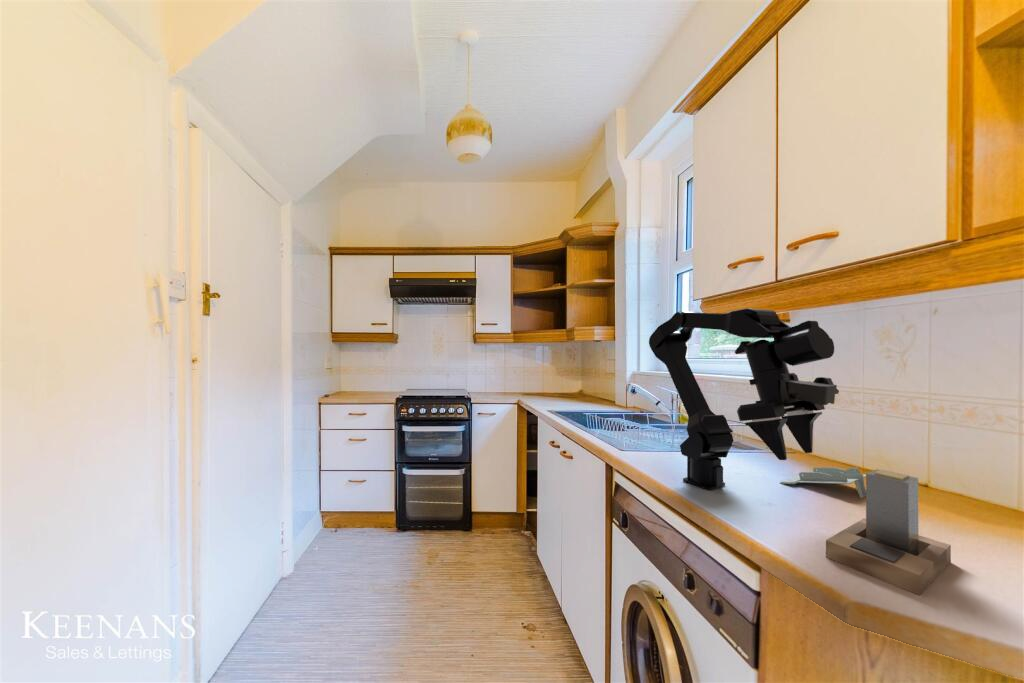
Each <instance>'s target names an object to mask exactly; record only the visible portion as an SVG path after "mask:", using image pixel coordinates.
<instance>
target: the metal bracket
mask: <svg viewBox="0 0 1024 683" xmlns="http://www.w3.org/2000/svg"><path fill="white" fill-rule="evenodd" d="M864 478H866V473H865V474H864V473H863V474H862V473H860V469H859V468H858V467H856V466H853V467H851V468H850V467H849V468H847V469H844V468H839V467H835V466H817V467H813V468H812V471H801V472H799V473H798V475H797V476H794V477H791V478H787V479H785V480H782V481H779V484H781V485H796V484H799V483H800V484H801V483H802V484H838V485H850V484H853V483H854V484H855V488H856V490H857V493H858V496H859V498H860V499H863V498H866V484H865V479H864Z"/></svg>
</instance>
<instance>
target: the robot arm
mask: <svg viewBox="0 0 1024 683" xmlns="http://www.w3.org/2000/svg"><path fill="white" fill-rule="evenodd" d="M695 328H696V329H705V330H706V329H707V330H719V331H723V332H726V333H728V334H729V335H733V336H737V337H741V338H743V339H744V338H746V339H751V338H752V339H754V338H756V339H759V340H755V341H750V340H743V341H740V343H739V345H738V346H737V347H736V349H735V350H734V353H735V355H743V354H745V355H746V358H747V361H748V365H749V367H750V371H751V374H752V378H753V379H749V380H748V381H749V384H750V386H755V388H756V391H757V394H758V398H759V400H755V403H747V404H740V405H739V406H738V408H737V410H736V413H737V416H738V419H739V422H744V424H745V426H748V427H749V428H750V429H751V430H752V431H753V432H754V434H756V436H757V437H759V438H760V440H761V441H762V442H763V443H764V444H765V445H766V447H767V448H768V449H769V450H770V451H771V452H772V454H774V456H775V457H776V458H777V459H778V460H779V461H787V460H788V458H787V449H786V444H785V438H784V433H783V427H784V426H785V425H786V427H787V428H788V429H789V430H788V431H789V432H790V433H791V434H792V436H793V438H794V439H795V440H796V442H797V444H798V445H799V446H800V448H801V450H802V451H803V452H804V453H805V454H812V453H813V448H814V447H813V445H814V444H813V443H814V442H813V441H814V438H813V437H814V434H813V433H814V423H815V421H816V420H817V419H818V418H819V417H820V416H821V415H822V414H823V412H822V410H826V408H825V406H827V405H828V404H831V405H835V400H836V399H835V398H836V395H838V394H839V393H840V390H839V389H837V388H838V386H837V384H835V383H834V381H833V380H832V378H831V377H823V376H822V377H821V376H817V377H816V378H815V379H814V380H813V381H805V380H804V381H802V380H799V376H798V375H797V374H795V373H794V372H790V371H789V368H788V365H789V366H793V367H794V366H799V365H803V364H804V365H805V364H809V363H814V362H817V361H821V360H827V359H830V358H831V357H833V355H834V354H835V343H834V340H833V338H831V337H830V336H829V334H828V333H827V332H826V331H825V330H824V329H823V328H822V327H820V326H819V322H818V321H816V320H806V321H802V322H801V323H799V324H797V325H793V326H789V325H788V324H787V323H785V322H784V321H782V320H781V319H780V317H779V315H778V314H777V312H776V310H775V311H774V310H772V309H765V308H764V309H762V308H749V307H747V308H739V309H735V310H731V311H728V312H721V313H720V312H719V313H716V312H695V311H683V310H680V311H679V310H678V312H675V313H674V314H673V315H672V317H671V318H670V319H668V320H666V321H665V322H663V323H661V324H660V325H659V326H657V327H656V329H655V330H654V331H653V332H652V333H651V335H650V336H649V340H648V344H649V348H650V350H651V352H652V353H653V355H654V357H655V358H656V359H658V360H659V361H661V363H663V364H664V365H665V366H666V369H667V371H668V374H669V376H670V377H671V380H672V382H673V384H674V386H675V389H676V392H677V394H678V396H679V398H680V400H681V403H682V405H683V407H684V409H685V411H686V414H687V417H688V419H687V420H688V421H687V426H686V432H687V434H688V437H687V438H685V440H683V441H682V443H681V444H680V445H679V448H680V449H679V450H680V452H681V455H682V456H684V457H686V459H687V462H686V463H687V464H686V466H687V467H686V471H687V472H686V477H684V478H682V481H683V482H686V483H687V484H691V485H694V486H697V487H699V488H702V489H704V490H708V491H710V490H713V489H717V488H720V487H724V486H726V482H724V467H723V465H722V458H727V457H728V455H729V454H728V453H729V452H730V449H731V448H732V446H733V442H734V436H733V435H732V433H733V432H734V430H732V428H731V427H730V426H729V423H728V421H727V418H726V417H725V415H723V414H715V413H714V412H713V411H712V410H711V409H710V406H709V404H708V402H707V400H706V398H705V396H704V394H703V392H702V390H701V387H700V386H699V384H698V381H697V379H696V377H695V375H694V372H693V370H692V368H691V367H690V364H689V362H688V360H687V358H686V357H687V353H688V352H687V351H688V345H687V343H688V342H689V340H690V339H692V336H693V335H692V334H693V330H694V329H695ZM679 329H680V330H679ZM678 330H679V331H678ZM767 339H773V340H771V341H769V340H767ZM814 411H815V412H814ZM816 411H818V412H816Z"/></svg>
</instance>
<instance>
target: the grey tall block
mask: <svg viewBox="0 0 1024 683" xmlns="http://www.w3.org/2000/svg"><path fill="white" fill-rule="evenodd" d="M865 474H866V477H865V489H866V496H865V519H866V539H869V540H871V541H874V542H877V543H880V544H883V545H886V546H889V547H892V548H895V549H898V550H901V551H903V552H906V553H909V554H912V555H915V556H918V555H919V536H918V535H919V477H915V476H910V475H909V474H906V473H905V474H904V473H900V472H895V471H891V470H887V469H882V468H881V469H878V468H876V469H874V470H871V471H868V472H867V473H865Z"/></svg>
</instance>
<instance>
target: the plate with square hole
mask: <svg viewBox="0 0 1024 683" xmlns="http://www.w3.org/2000/svg"><path fill="white" fill-rule="evenodd" d="M918 536H919V555H918V556H915V555H912V554H909V553H906V552H903V551H901V550H898V549H895V548H892V547H889V546H886V545H883V544H880V543H877V542H874V541H871V540H869V539H866V517H865V518H862V519H860V520H858V521H856V522H855V523H853V524H851V525H850V526H848V527H847V528H845V529H843V530H841V531H839V532H838V533H836V534H834V535H832V536H831V537H829V538H827V539H826V540H825V558H827V557H828V558H827V559H829V558H830V559H829V560H832V561H834V560H835V562H837V563H840V564H842V565H845V566H847V567H849V568H852V569H854V570H857V571H859V572H861V573H864V574H867V575H868V576H872V577H874V578H876V579H879V580H881V581H884V582H886V583H888V584H891V585H894V586H896V587H899V588H901V589H902V590H906V591H909V592H911V593H914V594H916V595H919V596H921V595H922V593H923V592H925V591H926V589H927V588H928V587H929V586H930V585H931V584H932V583H933V582H934V581H935V580H936V579H937V578H938V577H939V576H940V574H941V573H942V572H944V570H945V569H946V568H947V567H948V566H949V565H950V564H951V563H952V560H951V559H952V558H951V556H952V554H951V553H952V550H951V549H952V545H951V544H948V543H945V542H942V541H939V540H935V539H932V538H929V537H926V536H923V535H921V534H918Z"/></svg>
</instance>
